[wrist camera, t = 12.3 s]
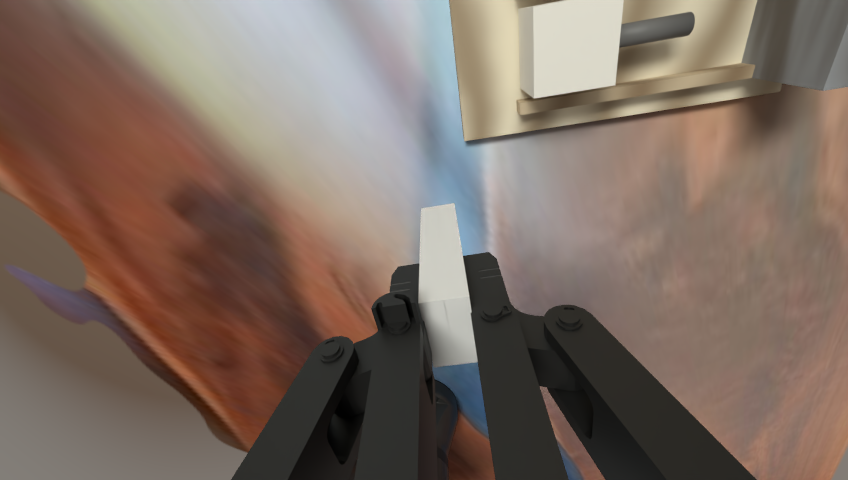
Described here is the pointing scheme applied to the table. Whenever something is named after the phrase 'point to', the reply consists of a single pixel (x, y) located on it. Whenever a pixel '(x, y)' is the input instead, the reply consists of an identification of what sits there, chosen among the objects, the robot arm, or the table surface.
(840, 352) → the table surface
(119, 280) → the table surface
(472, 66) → the board
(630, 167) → the table surface
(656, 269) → the table surface
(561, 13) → the white block with rods
